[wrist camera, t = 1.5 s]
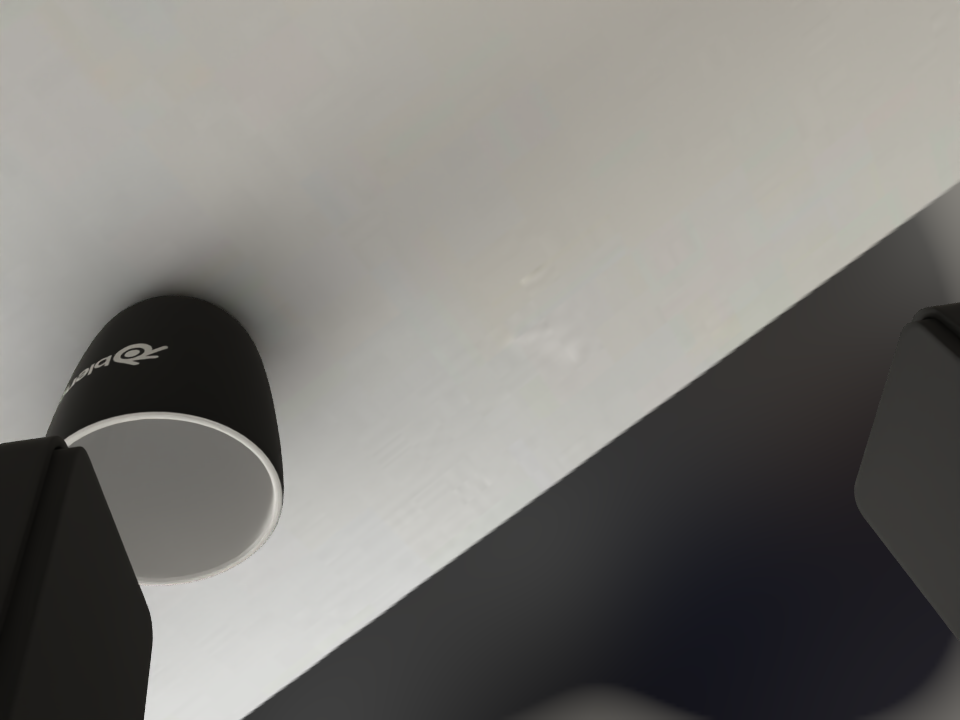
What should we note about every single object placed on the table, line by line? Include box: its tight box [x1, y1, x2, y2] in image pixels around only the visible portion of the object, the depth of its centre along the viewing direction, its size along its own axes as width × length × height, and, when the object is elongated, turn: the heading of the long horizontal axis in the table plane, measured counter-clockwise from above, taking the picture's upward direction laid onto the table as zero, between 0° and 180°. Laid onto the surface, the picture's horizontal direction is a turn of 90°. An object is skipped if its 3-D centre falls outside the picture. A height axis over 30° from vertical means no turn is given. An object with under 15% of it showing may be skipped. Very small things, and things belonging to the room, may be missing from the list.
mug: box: [46, 296, 284, 586], centre depth 37 cm, size 12×9×10 cm
